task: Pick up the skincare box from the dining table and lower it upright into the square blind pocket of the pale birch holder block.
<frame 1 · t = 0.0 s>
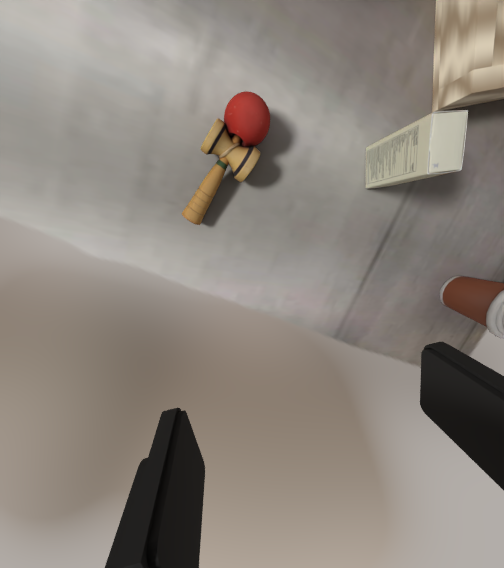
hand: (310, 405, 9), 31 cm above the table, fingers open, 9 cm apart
coffee cup: (453, 291, 46), on the table
holder: (485, 39, 34), on the table
kendama: (223, 168, 35), on the table
skincare box: (377, 166, 37), on the table
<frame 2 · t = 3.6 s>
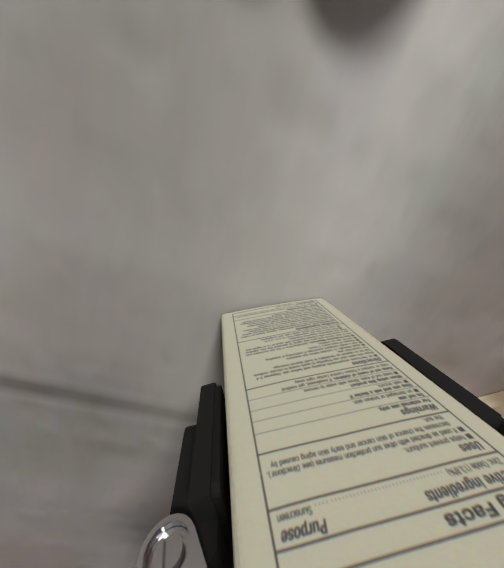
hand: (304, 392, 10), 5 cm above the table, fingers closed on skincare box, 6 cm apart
holder: (469, 471, 20), on the table
skincare box: (277, 334, 14), on the table, touching gripper
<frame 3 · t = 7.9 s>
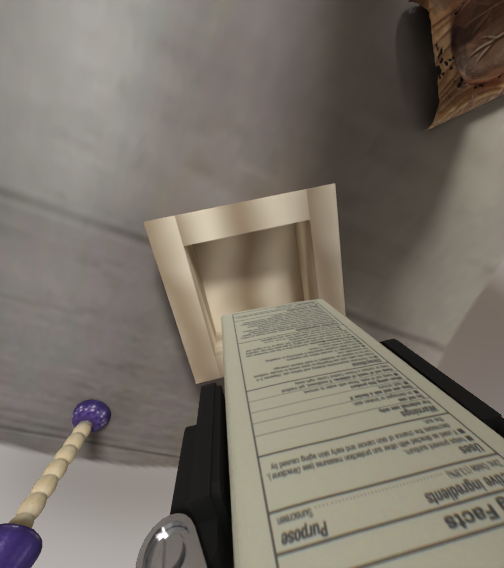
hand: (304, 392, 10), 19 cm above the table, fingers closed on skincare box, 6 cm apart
holder: (251, 276, 27), on the table
toy lamp: (95, 410, 30), on the table
skincare box: (277, 335, 14), point 14 cm above the table, touching gripper
bird sculpture: (460, 52, 24), on the table
when the fingers open (7 cm above the table, at t = 10.5 s): skincare box drops 1 cm, resting on holder.
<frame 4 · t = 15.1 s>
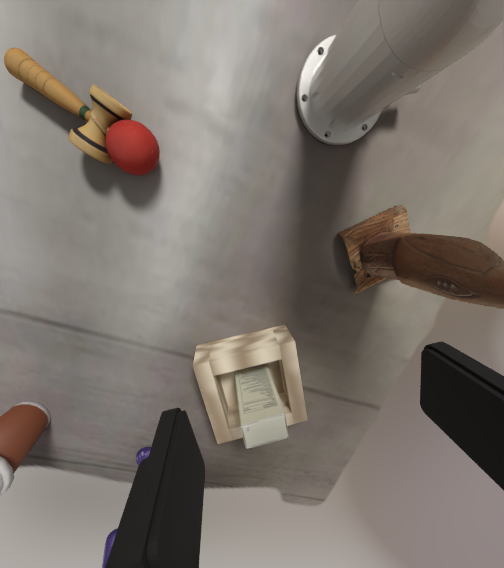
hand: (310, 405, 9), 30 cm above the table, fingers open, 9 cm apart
coffee cup: (31, 415, 41), on the table
holder: (250, 372, 44), on the table
toy lamp: (149, 453, 47), on the table
kendama: (99, 124, 31), on the table
skincare box: (252, 373, 43), point 1 cm above the table, touching holder
bird sculpture: (371, 249, 40), on the table
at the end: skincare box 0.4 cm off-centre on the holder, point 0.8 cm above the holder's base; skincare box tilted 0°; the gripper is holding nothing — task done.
